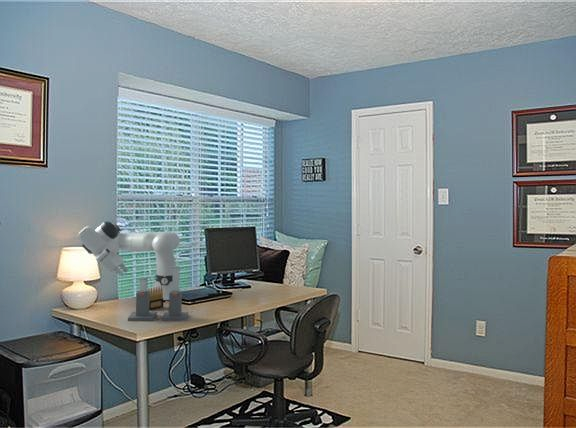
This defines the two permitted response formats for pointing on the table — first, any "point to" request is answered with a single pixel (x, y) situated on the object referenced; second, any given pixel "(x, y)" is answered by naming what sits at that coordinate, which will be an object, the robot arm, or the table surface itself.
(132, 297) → the table surface
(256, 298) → the table surface
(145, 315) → the base
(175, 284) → the right jack stand
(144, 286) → the left jack column
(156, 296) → the ammunition clip
